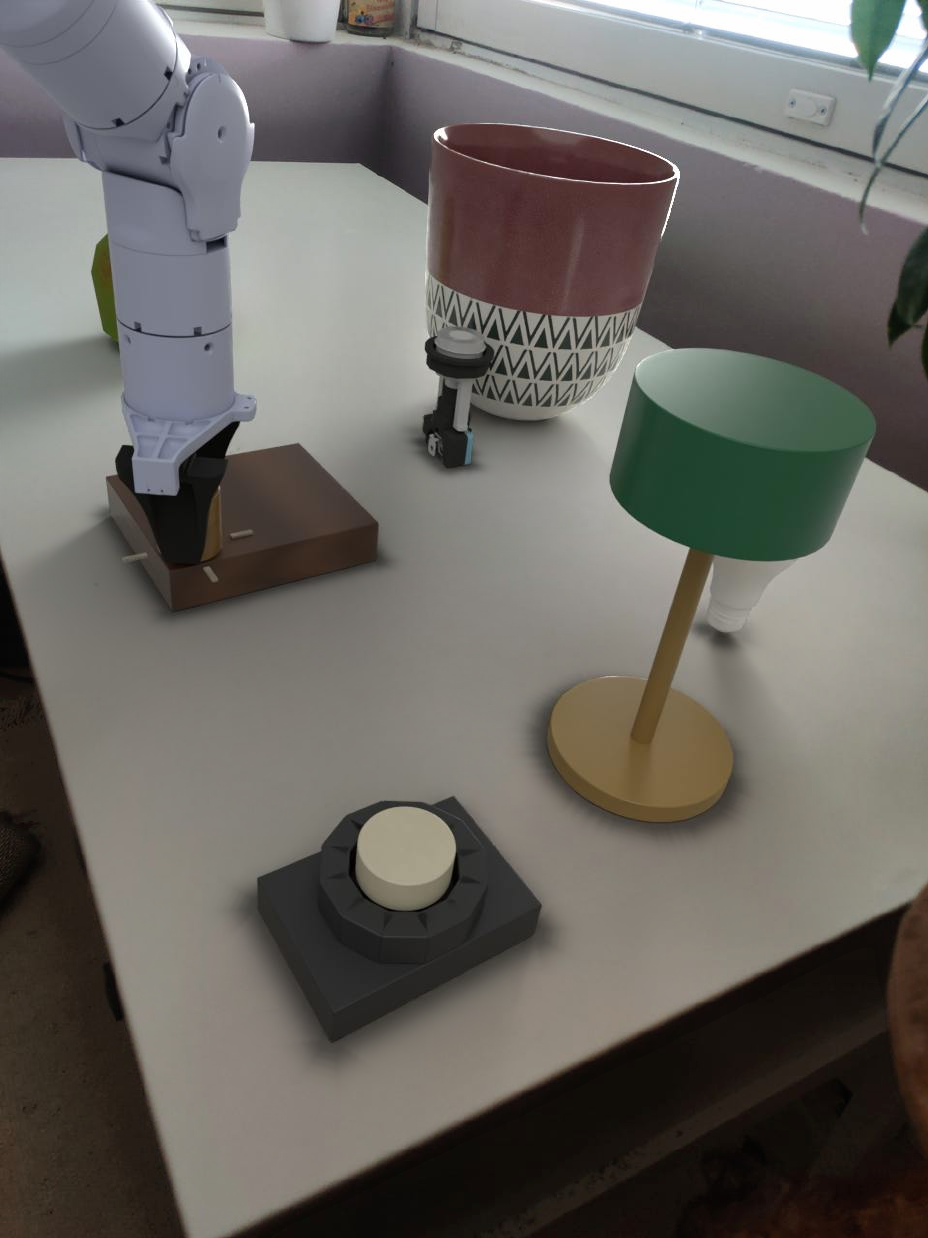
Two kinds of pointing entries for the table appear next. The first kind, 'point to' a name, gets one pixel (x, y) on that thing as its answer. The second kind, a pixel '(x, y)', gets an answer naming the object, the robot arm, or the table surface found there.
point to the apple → (104, 287)
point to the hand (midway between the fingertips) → (189, 539)
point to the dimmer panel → (258, 529)
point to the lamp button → (405, 858)
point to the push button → (454, 391)
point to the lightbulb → (738, 589)
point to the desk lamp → (705, 552)
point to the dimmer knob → (213, 529)
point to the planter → (541, 256)
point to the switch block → (390, 922)
